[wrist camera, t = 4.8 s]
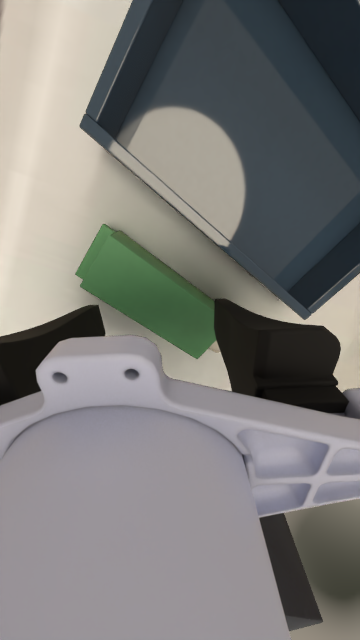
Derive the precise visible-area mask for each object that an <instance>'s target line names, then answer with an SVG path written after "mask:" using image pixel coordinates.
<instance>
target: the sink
mask: <svg viewBox="0 0 360 640" xmlns="http://www.w3.org/2000/svg"><path fill="white" fill-rule="evenodd" d="M80 128H81V129H82V130H83V131H85V132H86V133H87V134H88V135H89V136H90V137H92V138H93V139H94V140H95V141H96V142H97V143H99V144H100V145H101V146H102V147H103V148H104V149H106V150H107V151H108V152H109V153H110V154H111V155H113V156H114V157H115V158H116V159H117V160H118V161H120V162H121V163H122V164H123V165H124V166H125V167H127V168H128V169H129V170H130V171H131V172H132V173H134V174H135V175H136V176H137V177H138V178H139V179H141V180H142V181H143V182H144V183H145V184H146V185H148V186H149V187H150V188H151V189H152V190H153V191H155V192H156V193H157V194H158V195H159V196H160V197H162V198H163V199H164V200H165V201H166V202H167V203H169V204H170V205H171V206H172V207H173V208H174V209H175V210H177V211H178V212H179V213H180V214H181V215H182V216H184V217H185V218H186V219H187V220H188V221H189V222H191V223H192V224H193V225H194V226H195V227H196V228H198V229H199V230H200V231H201V232H202V233H203V234H205V235H206V236H207V237H208V238H209V239H210V240H212V241H213V242H214V243H215V244H216V245H217V246H219V247H220V248H221V249H222V250H223V251H224V252H226V253H227V254H228V255H229V256H230V257H231V258H233V259H234V260H235V261H236V262H237V263H238V264H240V265H241V266H242V267H243V268H244V269H245V270H247V271H248V272H249V273H250V274H251V275H252V276H254V277H255V278H256V279H257V280H258V281H259V282H261V283H262V284H263V285H264V286H265V287H266V288H268V289H269V290H270V291H271V292H272V293H273V294H275V295H276V296H277V297H278V298H279V299H280V300H282V301H283V302H284V303H285V304H286V305H287V306H289V307H290V308H291V309H292V310H293V311H294V312H296V313H297V314H298V315H299V316H300V317H301V318H303V319H304V320H306V319H307V318H308V317H309V316H310V315H311V313H314V312H315V311H316V310H317V309H319V308H320V307H321V306H322V305H323V304H324V303H326V302H327V301H328V300H329V299H330V298H331V297H333V296H334V295H335V294H336V293H337V292H338V291H340V290H341V289H342V288H343V287H344V286H345V285H347V284H348V283H349V282H350V281H351V280H352V279H354V278H355V277H356V276H357V275H358V274H359V273H360V0H133V1H132V3H131V6H130V8H129V10H128V13H127V15H126V17H125V20H124V22H123V24H122V27H121V29H120V31H119V34H118V36H117V39H116V41H115V43H114V46H113V48H112V50H111V53H110V55H109V57H108V60H107V62H106V64H105V67H104V69H103V71H102V74H101V76H100V79H99V81H98V83H97V86H96V88H95V90H94V93H93V95H92V97H91V100H90V102H89V104H88V107H87V109H86V114H84V116H83V119H82V121H81V123H80Z"/></svg>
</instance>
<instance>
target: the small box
mask: <svg viewBox="0 0 360 640" xmlns="http://www.w3.org/2000/svg"><path fill="white" fill-rule="evenodd" d="M259 520H260V524H261V528H262V531H263V535H264V539H265V543H266V547H267V550H268V554H269V558H270V562H271V565H272V569H273V573H274V577H275V580H276V584H277V588H278V592H279V596H280V599H281V603H282V607H283V611H284V614H285V618H286V622H287V626H288V630H289V631H291V630H295V629H299V628H303V627H307V626H311V625H315V624H319V623H322V622H323V620H322V617H321V614H320V612H319V609H318V606H317V603H316V601H315V598H314V595H313V592H312V590H311V587H310V584H309V582H308V579H307V576H306V573H305V570H304V568H303V565H302V562H301V559H300V557H299V554H298V551H297V548H296V546H295V543H294V540H293V537H292V535H291V532H290V529H289V526H288V524H287V521H286V518H285V515H284V513H280V514H275V515H270V516H265V517H260V518H259Z"/></svg>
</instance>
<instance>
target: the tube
mask: <svg viewBox="0 0 360 640" xmlns="http://www.w3.org/2000/svg"><path fill="white" fill-rule="evenodd" d="M75 275H77V276H78V277H80V278H82V279H83V281H82V283H81V285H80V287H82V288H83V289H85V290H86V291H88V292H90V293H91V294H93V295H94V296H96V297H98V298H99V299H101V300H102V301H104V302H106V303H107V304H109V305H110V306H112V307H114V308H115V309H117V310H119V311H120V312H122V313H123V314H125V315H127V316H128V317H130V318H131V319H133V320H135V321H136V322H138V323H139V324H141V325H143V326H144V327H146V328H148V329H149V330H151V331H152V332H154V333H156V334H157V335H159V336H160V337H162V338H164V339H165V340H167V341H168V342H170V343H172V344H173V345H175V346H177V347H178V348H180V349H181V350H183V351H185V352H186V353H188V354H189V355H191V356H193V357H194V358H196V359H198V358H199V357H200V356H201V355H202V354H203V353H204V352H205V351H206V350H207V349H208V348H209V349H211V350H212V351H214V352H216V353H219V352H220V349H219V346H218V343H217V341H216V336H215V331H214V306H215V301H213V300H212V299H211V298H209V297H208V296H207V295H205V294H204V293H203V292H201V291H200V290H199V289H197V288H196V287H195V286H193V285H192V284H191V283H189V282H188V281H187V280H185V279H184V278H183V277H181V276H180V275H179V274H177V273H176V272H175V271H173V270H172V269H171V268H169V267H168V266H167V265H165V264H164V263H163V262H161V261H160V260H159V259H157V258H156V257H155V256H153V255H152V254H151V253H149V252H148V251H147V250H145V249H144V248H143V247H141V246H140V245H139V244H137V243H136V242H135V241H133V240H132V239H131V238H129V237H128V236H127V235H125V234H124V233H123V232H121V231H117V232H115V231H114V230H112V229H111V228H110V227H108V226H107V225H106V224H103V225H102V226H101V228H100V230H99V232H98V234H97V236H96V237H95V239H94V241H93V243H92V245H91V246H90V248H89V250H88V252H87V254H86V255H85V257H84V259H83V261H82V263H81V265H80V266H79V268H78V270H77V272H76V274H75Z"/></svg>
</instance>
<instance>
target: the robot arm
mask: <svg viewBox="0 0 360 640" xmlns="http://www.w3.org/2000/svg"><path fill="white" fill-rule="evenodd" d="M214 331H215V336H216V341H217V343H218V346H219V349H220V352H221V354H222V357H223V360H224V362H225V365H226V368H227V371H228V375H229V379H230V384H231V388H232V392H230V391H226V390H221V389H217V388H212V387H208V386H203V385H199V384H194V383H190V382H185V381H181V380H176V379H172V378H169V377H168V376H166V375H165V373H164V371H163V367H162V358H161V354H160V352H159V350H158V347H157V345H156V344H154V343H153V342H151V341H150V340H149V339H147V338H146V337H140V336H134V335H121V336H105V329H104V325H103V321H102V317H101V313H100V309H99V305H88V306H85V307H82V308H79V309H77V310H75V311H73V312H71V313H68V314H66V315H64V316H62V317H59V318H57V319H55V320H52V321H50V322H48V323H45V324H43V325H40V326H37V327H34V328H31V329H28V330H24V331H21V332H17V333H13V334H10V335H5V336H1V337H0V640H291V638H290V633H289V630H288V626H287V622H286V618H285V614H284V611H283V607H282V603H281V599H280V596H279V592H278V588H277V584H276V580H275V577H274V573H273V569H272V565H271V562H270V558H269V554H268V550H267V547H266V543H265V539H264V535H263V531H262V528H261V524H260V520H259V518H260V517H265V516H270V515H275V514H280V513H285V512H290V511H296V510H301V509H306V508H311V507H316V506H321V505H326V504H331V503H337V502H342V501H348V500H354V499H360V388H353V389H347V390H345V391H344V392H343V393H341V391H340V390H339V389H338V388H337V387H336V385H338V381H337V379H336V378H335V377H334V376H333V372H334V369H335V367H336V364H337V361H338V359H339V355H340V351H341V347H340V342H339V340H338V339H337V337H336V336H335V335H333V334H332V333H331V332H330V331H329V330H327V329H326V328H325V327H324V326H317V325H302V324H294V323H288V322H282V321H278V320H274V319H270V318H266V317H264V316H261V315H258V314H255V313H253V312H251V311H248V310H246V309H244V308H242V307H240V306H238V305H237V304H235V303H233V302H231V301H229V300H227V299H225V298H223V299H215V306H214Z"/></svg>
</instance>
